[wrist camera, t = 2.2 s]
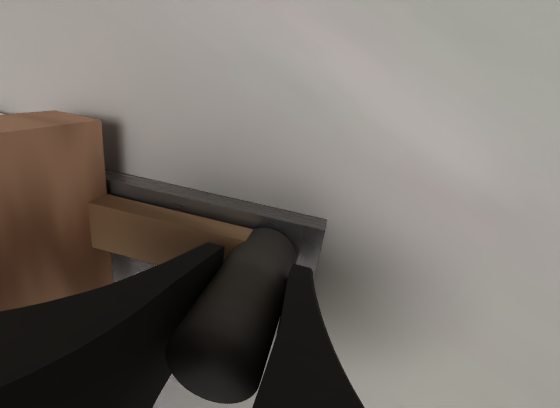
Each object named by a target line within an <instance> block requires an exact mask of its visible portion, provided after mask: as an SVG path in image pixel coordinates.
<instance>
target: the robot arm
mask: <svg viewBox="0 0 560 408" xmlns="http://www.w3.org/2000/svg"><path fill="white" fill-rule="evenodd" d="M224 248H225V246H222V245H218V244H214V243H210V242H207V243H205V244H203V245H200V246H198V247H196V248H194V249H192V250H190V251H188V252H186V253H184V254H181V255H179V256H177V257H175V258H173V259H171V260H169V261H166V262H164V263H162V264H160V265H158V266H155V267H153V268H150V269H148V270H145V271H143V272H141V273H138V274H136V275H133V276H131V277H128V278H126V279H123V280H120V281H117V282H115V283H112V284H109V285H106V286H102V287H99V288H96V289H93V290H90V291H86V292H83V293H79V294H75V295H71V296H67V297H64V298H60V299H56V300H52V301H48V302H44V303H40V304H35V305H30V306H25V307H21V308H16V309H10V310H5V311H0V408H152V407H153V405H154V403H155V401H156V400H157V398H158V396H159V394H160V392H161V390H162V389H163V387H164V385H165V384H166V382H167V380H168V379H169V377H170V376H171V374H172V372H171V371H170V369H169V367H168V364H167V362H166V357H165V348H166V344H167V342H168V340H169V338H170V337H171V335H172V334H173V333H174V331H175V330H176V328H177V327H178V326H179V324H180V323H181V322H182V320H183V319H184V317H185V316H186V315H187V313H188V312H189V310H190V309H191V308H192V306H193V305H194V303H195V302H196V301H197V299H198V298H199V296H200V295H201V294H202V292H203V291H204V290H205V288H206V287H207V285H208V284H209V283H210V281H211V280H212V278H213V277H214V276H215V274H216V273H217V271H218V270H219V269H220V267H221V266H222V264H223V258H224ZM253 408H364V406H363V404H362V402H361V401H360V399H359V397H358V396H357V394H356V392H355V390H354V389H353V387H352V385H351V383H350V381H349V380H348V378H347V376H346V374H345V372H344V370H343V368H342V366H341V363H340V361H339V359H338V357H337V355H336V353H335V350H334V348H333V346H332V343H331V341H330V338H329V336H328V333H327V330H326V327H325V325H324V322H323V318H322V315H321V312H320V308H319V305H318V301H317V297H316V293H315V287H314V281H313V271H312V269H311V268H309V267H305V266H301V265H297V264H292V267H291V269H290V272H289V274H288V279H287V285H286V290H285V295H284V300H283V305H282V311H281V315H280V320H279V325H278V330H277V335H276V339H275V342H274V345H273V348H272V351H271V354H270V357H269V360H268V364H267V367H266V370H265V373H264V376H263V378H262V381H261V384H260V387H259V390H258V393H257V396H256V399H255V402H254V405H253Z"/></svg>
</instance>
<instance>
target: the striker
mask: <svg viewBox="0 0 560 408" xmlns="http://www.w3.org/2000/svg"><path fill="white" fill-rule="evenodd" d="M207 242H210V243H214V244H218V245H222V246H225V248H224V258H223V264H222V266H221V267H220V269H219V270H218V271H217V273H216V274H215V276H214V277H213V278H212V280H211V281H210V283H209V284H208V285H207V287H206V288H205V290H204V291H203V292H202V294H201V295H200V296H199V298H198V299H197V301H196V302H195V303H194V305H193V306H192V308H191V309H190V310H189V312H188V313H187V315H186V316H185V317H184V319H183V320H182V322H181V323H180V324H179V326H178V327H177V328H176V330H175V331H174V333H173V334H172V335H171V337H170V338H169V340H168V342H167V344H166V348H165V357H166V362H167V364H168V367H169V369H170V371H171V372H172V374H173V375H174V377H175V378H176V379H177V380H178V381H179V382H180V383H181V384H182V385H183V386H184V387H185V388H186V389H188V390H189V391H190V392H192V393H194V394H195V395H197V396H199V397H201V398H203V399H206V400H209V401H212V402H217V403H225V404H232V403H238V402H242V401H244V400H247V399H248V398H250V397H251V396H252V395H254V394H255V392H256V391H257V389H258V387H259V385H260V381H261V378H262V375H263V371H264V368H265V365H266V361H267V358H268V355H269V351H270V348H271V345H272V342H273V338H274V335H275V332H276V328H277V325H278V322H279V318H280V315H281V311H282V305H283V300H284V295H285V290H286V285H287V279H288V274H289V272H290V269H291V267H292V264H296V260H297V256H296V251H295V248H294V246H293V244H292V243H291V241H290V240H289V239H288V238H287V237H286V236H285V235H283V234H282V233H280V232H278V231H276V230H273V229H270V228H256V229H250V228H246V227H242V226H238V225H233V224H229V223H225V222H221V221H217V220H213V219H208V218H204V217H200V216H196V215H192V214H188V213H183V212H179V211H175V210H171V209H167V208H163V207H158V206H154V205H150V204H146V203H142V202H138V201H134V200H129V199H125V198H121V197H117V196H113V195H109V194H107V191H106V177H105V164H104V150H103V137H102V123H101V120H99V119H94V118H89V117H84V116H79V115H74V114H69V113H64V112H59V111H44V112H31V113H17V114H4V115H0V311H5V310H10V309H16V308H21V307H25V306H30V305H35V304H40V303H44V302H48V301H52V300H56V299H60V298H64V297H67V296H71V295H75V294H79V293H83V292H86V291H90V290H93V289H96V288H99V287H102V286H106V285H109V284H112V283H113V272H112V258H111V252H112V253H115V254H119V255H123V256H126V257H130V258H134V259H138V260H141V261H145V262H149V263H152V264H156V265H160V264H162V263H164V262H166V261H169V260H171V259H173V258H175V257H177V256H179V255H181V254H184V253H186V252H188V251H190V250H192V249H194V248H196V247H198V246H200V245H203V244H205V243H207Z"/></svg>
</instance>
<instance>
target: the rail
mask: <svg viewBox="0 0 560 408" xmlns="http://www.w3.org/2000/svg"><path fill="white" fill-rule="evenodd" d="M105 177H106V191H107V194H109V195H113V196H117V197H121V198H125V199H129V200H134V201H138V202H142V203H146V204H150V205H154V206H158V207H163V208H167V209H171V210H175V211H179V212H183V213H188V214H192V215H196V216H200V217H204V218H208V219H213V220H217V221H221V222H225V223H229V224H233V225H238V226H242V227H246V228H250V229H256V228H270V229H273V230H276V231H278V232H280V233H282V234H283V235H285V236H286V237H287V238H288V239H289V240H290V241H291V243H292V244H293V246H294V248H295V251H296V256H297V260H296V264H297V265H301V266H305V267H309V268H311V269H312V271H313V280H314V275H315V271H316V267H317V263H318V258H319V254H320V250H321V246H322V242H323V237H324V233H325V228H326V222H327V220H325V219H321V218H317V217H312V216H308V215H303V214H299V213H295V212H290V211H286V210H281V209H277V208H273V207H268V206H264V205H260V204H255V203H251V202H246V201H242V200H238V199H233V198H229V197H224V196H220V195H216V194H211V193H207V192H202V191H198V190H194V189H189V188H185V187H181V186H176V185H172V184H167V183H163V182H159V181H154V180H150V179H145V178H141V177H137V176H132V175H128V174H124V173H119V172H115V171H110V170H106V169H105Z"/></svg>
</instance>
